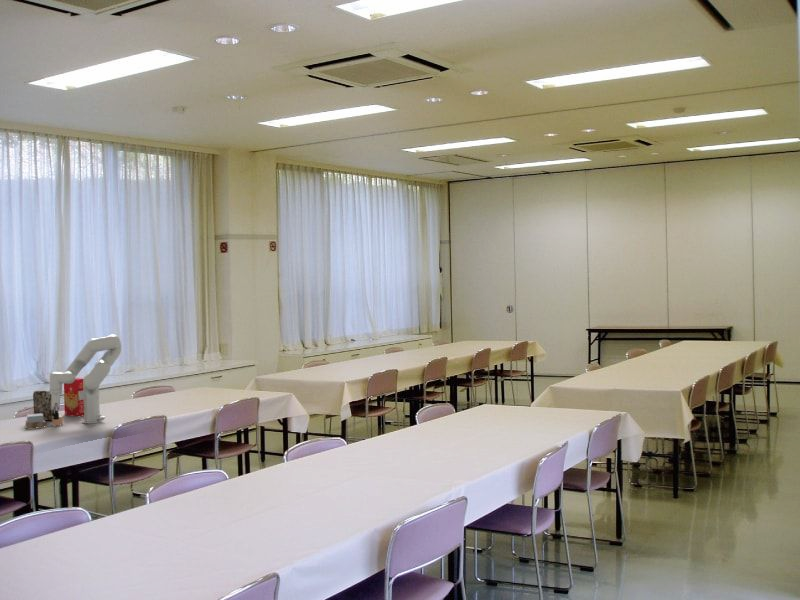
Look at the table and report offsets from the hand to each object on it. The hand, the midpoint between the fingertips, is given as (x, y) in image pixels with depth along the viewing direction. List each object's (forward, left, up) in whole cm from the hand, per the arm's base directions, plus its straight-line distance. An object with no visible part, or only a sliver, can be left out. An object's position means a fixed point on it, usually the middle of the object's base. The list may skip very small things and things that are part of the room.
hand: (55, 418), depth 519 cm
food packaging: (+9, -34, -5) cm, 35 cm away
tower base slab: (+9, +7, -5) cm, 13 cm away
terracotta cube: (-1, -1, -5) cm, 5 cm away
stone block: (+17, -13, -5) cm, 22 cm away
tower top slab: (+9, +7, -1) cm, 12 cm away
